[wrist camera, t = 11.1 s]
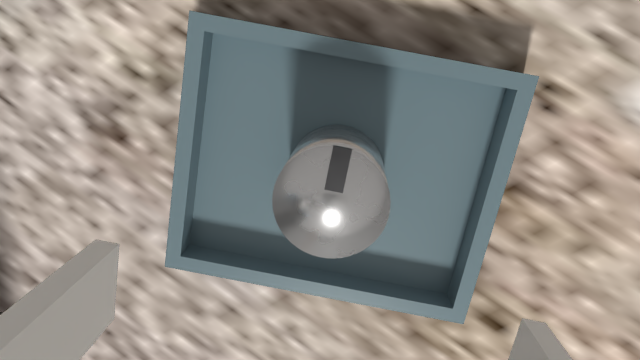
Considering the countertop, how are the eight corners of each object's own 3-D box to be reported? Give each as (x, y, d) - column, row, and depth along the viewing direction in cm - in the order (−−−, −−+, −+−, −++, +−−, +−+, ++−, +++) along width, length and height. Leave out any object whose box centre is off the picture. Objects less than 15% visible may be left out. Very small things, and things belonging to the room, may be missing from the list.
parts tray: (177, 250, 36) (164, 266, 33) (202, 13, 31) (189, 10, 28) (455, 304, 36) (463, 324, 33) (523, 73, 31) (538, 76, 28)
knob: (282, 205, 34) (262, 247, 27) (298, 116, 32) (281, 135, 25) (372, 224, 33) (376, 271, 26) (393, 135, 32) (403, 160, 25)
